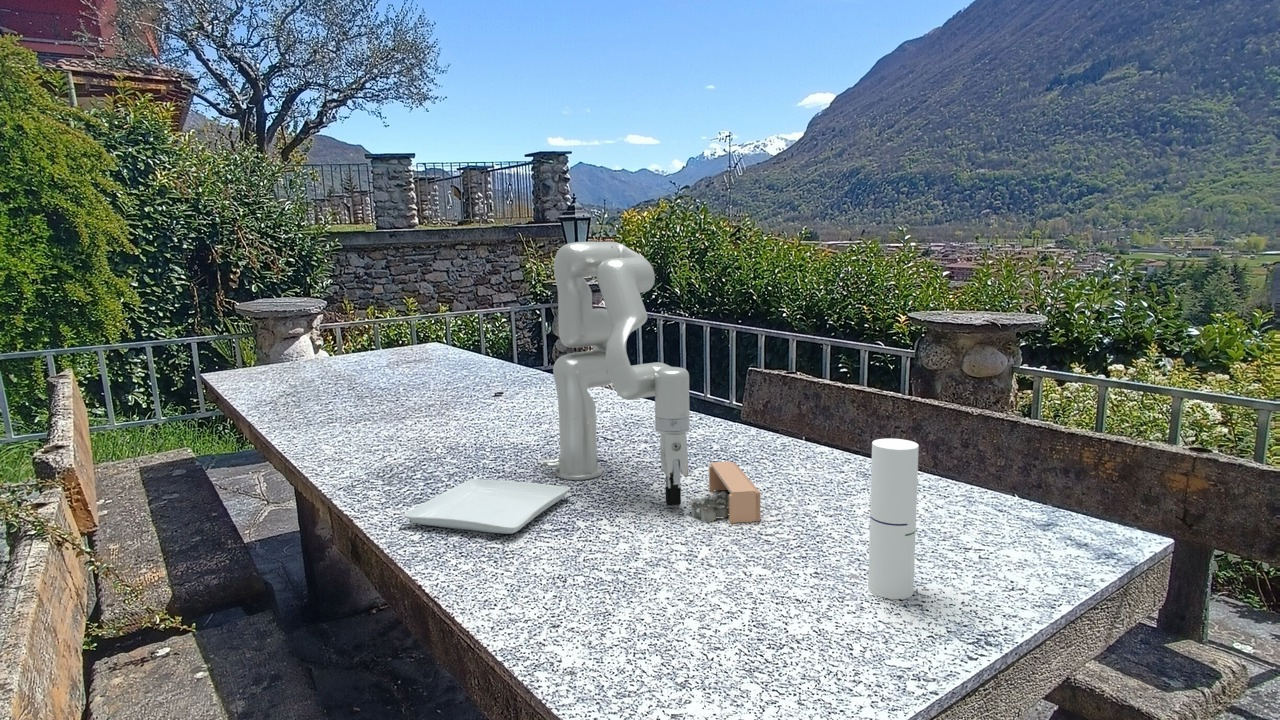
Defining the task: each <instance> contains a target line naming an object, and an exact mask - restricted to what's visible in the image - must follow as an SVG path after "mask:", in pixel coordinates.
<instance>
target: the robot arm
mask: <svg viewBox="0 0 1280 720" xmlns="http://www.w3.org/2000/svg"><path fill="white" fill-rule="evenodd" d="M553 273H554V279H555V285H556V287H557V297H558V299H557V304H558V305H557V307H558V308H557V309H558V311H557V312H558V313H557V314H558V316H557V317H558V337H559V340H560V343H561V344H562V345H563V346H564V347H567V348H572V349H573V348H575V349H576V348H577V349H578V348H587V347H592V349H593V350H588V351H587V350H586V351H585V350H584V351H577V352H569V353H566V354H564V355H561V356H560V357H558V358H557V359H556V361H555V362H554V364H553V368H552V372H553V379H554V384H555V388H556V393H557V402H558V407H557V408H558V423H559V424H558V426H559V427H558V430H559V454H558V457H555V458H553V459H552V458H543V459H542V466H543V467H547V469H552V468H555V469H554V475H555V476H556V477H558V478H560V479H563V480H568V481H569V480H571V481H581V480H590V479H594V478H598V477H600V476H601V475H603V473H604V467H603V466H602V465H601V464H598V446H597V444H598V440H597V416H596V415H597V414H596V412H597V408H596V404H595V401H594V399H593V397H592V396H591V395H590V393H589V389H591V388H592V389H593V388H599V387H605V386H609V385H612V386H613V388H614V391H615V392H616V394H617V395H618V396H619V397H620V398H622V399H623V400H627V401H631V400H632V401H634V400H638V399H645V398H652V397H654V401H655V402H654V411H655V412H654V416H655V417H654V419H655V420H654V423H655V424H654V425H655V432H656V433H659V437H660V440H659V441H660V443H659V444H660V445H659V447H660V448H659V449H660V453H659V455H660V466H661V469H662V471H663V473H664V475H665V490H664V491H665V496H664V497H665V504H666V506H680V505H681V503H682V497H681V496H682V492H681V491H682V489H681V487H682V486H681V479H682V477H681V476H683V477H685V478H688V477H689V455H688V439H687V433H689V432H690V374H689V373H690V372H688V370H687V369H686V368H684V367H679V366H671V365H669V364H667V363H663V362H658V361H657V362H649V363H640V364H635V365H631V362H630V359H629V356H628V353H627V341H628V338H629V336H630V335H631V334H632V333H633V332H634V331H637V329H639V328H641V327H642V326H643V325H644V324H645V323H646V322H647V320H648V313H647V310H646V307H645V305H644V302H643V299H642V295H641V293H646V292H649V291H650V290H651V289H653V286H654V284H655V280H656V277H655V271H654V268H653V265H652V264H651V262H650V261H648V259H646V257H644V256H643V255H642V254H639V253H637V252H636V251H634V250H632V249H631V248H629V247H627V246H626V245H624V244H623V243H619V242H616V241H576V242H569V243H566V244H564V245H563V246H561V247H560V248H558V250H557V252H556V254H555V257H554V260H553ZM589 277H591V278H593V277H595V278H596V281H597V284H598V288H599V290H600V293H601V296H602V299H603V302H604V305H605V308H602V307H601V308H599V307H598V308H593V292H592V290H591V287H590V286H589V283H588V282H587V281H586V279H585V278H589Z"/></svg>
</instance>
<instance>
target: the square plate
mask: <svg viewBox="0 0 1280 720" xmlns="http://www.w3.org/2000/svg"><path fill="white" fill-rule="evenodd" d="M570 490H571V487H570V486H564V485H556V484H555V485H554V484H553V485H552V484H545V483H537V482H536V483H535V482H525V481H515V480H512V481H511V480H498V479H482V478H481V479H480V478H470V479H468V480H466V481H464V482H462V483H460V484H458V485H456V486H454V487H452V488H449V489H448V490H445V491H443V492H441V493H440V494H437V495H435V496H434V497H432V498H431V499H429V500H427V501H424V503H421V504H420V505H418V506H416V507H414V508H413V509H411V510H410V511H408V512H406V513H404V514H403V515H402V517H404V519H407V520H409V521H410V522H412V523H415V524H418V525H423V526H424V525H425V526H430V527H431V526H432V527H439V528H447V529H455V530H464V531H465V530H466V531H473V532H474V531H475V532H480V533H481V532H483V533H492V534H506V535H507V534H509V535H510V534H514V533H516V532H518V531H519V530H522V528H523V527H525V526H526V525H527V524H529V523H530V522H531V521H533V520H534V519H535V518H536V517H538V516H539V515H540V514H542V513H543V512H544V511H546V510H547V509H549V508H550V507H552V506H554V505H555V504H556V503H558V502H559V501H560V500H562V499H563V498H564V497H565V496H566V495H567V493H568V492H569V491H570Z"/></svg>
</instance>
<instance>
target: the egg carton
mask: <svg viewBox="0 0 1280 720" xmlns="http://www.w3.org/2000/svg"><path fill="white" fill-rule="evenodd" d="M687 505H688V506H691V510H690V511H691V517H692V516H693V517H692V518H700V517H701V518H700V519H701V520H702V521H701V520H700V521H701V522H703V521H714V520H715V521H716V520H717V519H716V517H723V518H725V517H727V518H728V516H729V515H728V514H729V494H728V493H727V491H720V492H719V493H717V494H712V495H707V496H705V497H701V498H692V499H691V500H690V501H689V502H688V504H687ZM727 515H728V516H727ZM698 516H699V517H698ZM725 519H726V518H725Z"/></svg>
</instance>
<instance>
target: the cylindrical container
mask: <svg viewBox="0 0 1280 720" xmlns="http://www.w3.org/2000/svg"><path fill="white" fill-rule="evenodd" d="M919 446H920V445H919V444H918V443H917V442H915V441H912V440H908V439H902V438H878V439H875V440H873V441H872V442H871V469H870V470H871V472H870V473H871V475H870V509H869V515H870V516H869V543H868V545H869V547H868V549H869V550H868V575H867V576H868V578H867V579H868V580H867V581H868V582H867V587H868V590H870V591H871V592H872V594H873V595H875V596H877V597H880V598H882V597H884V598H883V599H886V598H888V599H887V600H893V599H901V600H906V599H909V598H911V597H912V596H913V595H914V582H915V581H914V580H915V579H914V578H915V560H916V559H915V556H916V555H915V554H916V553H915V551H916V549H915V548H916V532H917V531H916V530H917V528H916V527H917V505H918V504H917V503H918V502H917V500H918V499H917V498H918V478H919V476H918V475H919V471H918V470H919V448H920V447H919ZM870 591H869V592H870Z"/></svg>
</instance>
